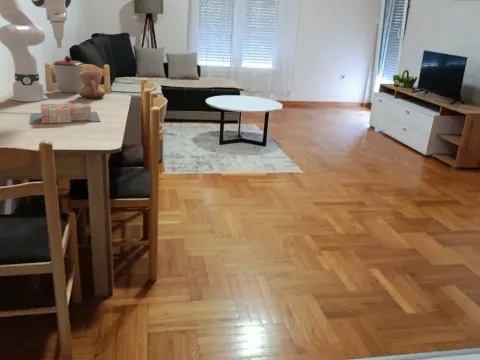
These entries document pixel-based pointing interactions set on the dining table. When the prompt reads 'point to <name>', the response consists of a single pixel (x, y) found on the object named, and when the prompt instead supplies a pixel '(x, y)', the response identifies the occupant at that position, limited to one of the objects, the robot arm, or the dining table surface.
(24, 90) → the robot arm
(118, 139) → the dining table surface
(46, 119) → the stack of blocks
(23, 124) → the dining table surface
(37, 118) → the charcoal mat
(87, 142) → the dining table surface
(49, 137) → the dining table surface
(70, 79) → the canister
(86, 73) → the ceramic jug
